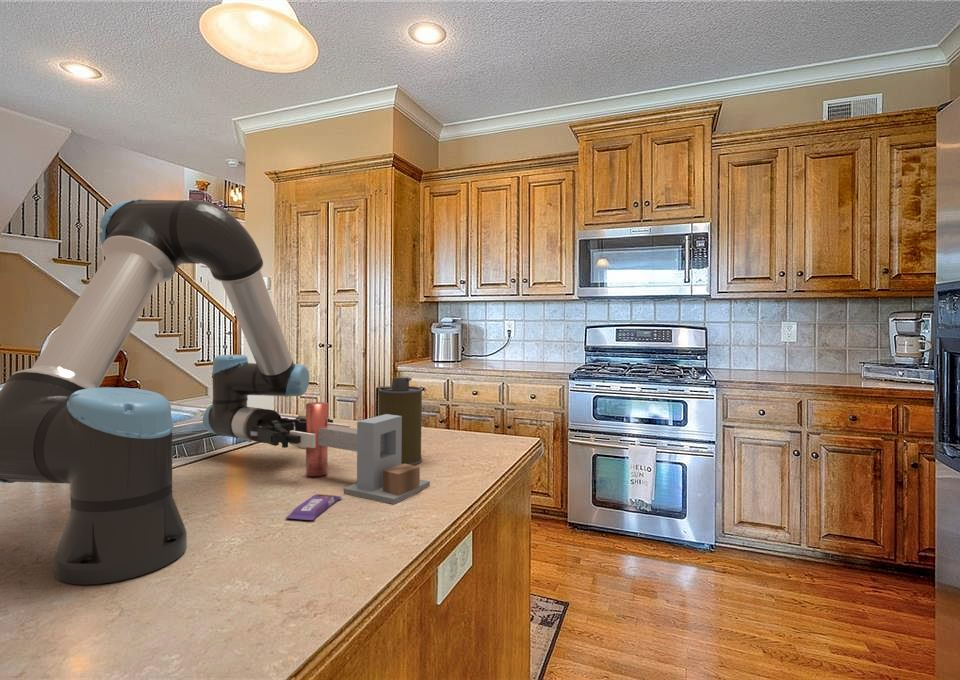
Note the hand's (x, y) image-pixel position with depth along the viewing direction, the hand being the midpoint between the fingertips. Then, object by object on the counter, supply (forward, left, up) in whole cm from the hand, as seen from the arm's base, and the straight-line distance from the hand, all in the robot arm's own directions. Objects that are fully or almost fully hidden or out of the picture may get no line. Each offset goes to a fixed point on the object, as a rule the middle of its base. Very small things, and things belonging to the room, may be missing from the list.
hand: (332, 436), depth 109 cm
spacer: (+5, -16, -6) cm, 18 cm away
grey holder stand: (+5, -14, -9) cm, 17 cm away
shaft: (+1, -3, -8) cm, 9 cm away
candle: (+8, +29, -9) cm, 32 cm away
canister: (+18, +2, -9) cm, 21 cm away
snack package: (-10, -14, -10) cm, 20 cm away
